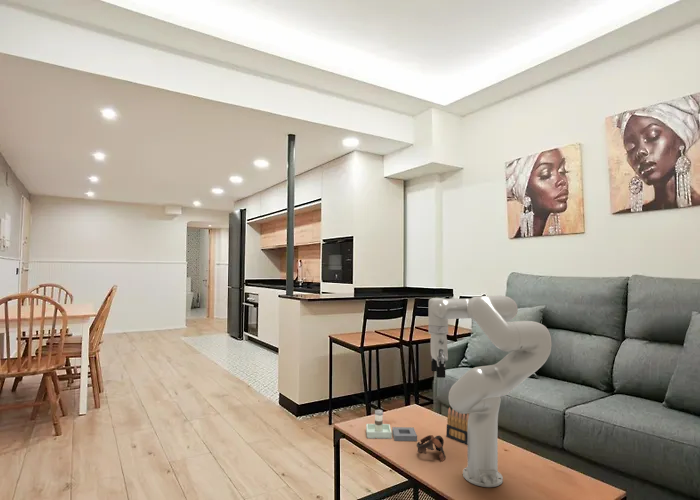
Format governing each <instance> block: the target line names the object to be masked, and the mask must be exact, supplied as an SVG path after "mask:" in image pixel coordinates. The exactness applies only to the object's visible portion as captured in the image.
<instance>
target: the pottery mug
mask: <svg viewBox="0 0 700 500" xmlns="http://www.w3.org/2000/svg"><path fill="white" fill-rule="evenodd" d="M444 443H445V442H444V438H443V436H442V435H436V436H435V437H434V435H431V434H430V435H427V436H424V437H423V438H421V439H420V441H417V443H416V447H417V452H418V454H419V453H420V454H422V453H423V454H425V455H426V454H427V453H426V452H427V450H430V451H435V450H436V451H437V452H440V454H439V456H438V458H439V459H440V462H443V461H444V460H445V459H446V454H445V451H444V448H443V447H444ZM434 447H435V448H434Z"/></svg>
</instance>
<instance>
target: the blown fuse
mask: <svg viewBox="0 0 700 500" xmlns="http://www.w3.org/2000/svg"><path fill="white" fill-rule="evenodd" d="M383 413H384V411H383V410H382V409H375V410H374V424H375V432H383V424H384V422H383V421H384V420H383V418H384V414H383Z"/></svg>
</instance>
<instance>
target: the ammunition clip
mask: <svg viewBox="0 0 700 500" xmlns="http://www.w3.org/2000/svg"><path fill="white" fill-rule="evenodd" d="M447 411H448V412H447V417H446V418H447V424H446V435H445V437H446V438H449V439H451V440H453V441H456V442H459V443H461V444H464V445H467V446H468V418H469V414H470V413H467V414H461V413H458V412H456V411H455V410H453V408H452V410H451V406H450V407H448V409H447Z"/></svg>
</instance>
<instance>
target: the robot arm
mask: <svg viewBox="0 0 700 500" xmlns="http://www.w3.org/2000/svg"><path fill="white" fill-rule="evenodd" d="M517 314H518V304H517V302H516V301H515V300H514V299H513V298H511V297H509V296H507V295H481V296H480V295H479V296H473V297H471V298H443V297H433V298H430V299H428V328H427V329H428V334H429V335H430V356H431V361H430V362H431V368H430V369H431V371H432V372H436V378H440V379H441V378H442V379H444V378H446V361H448V360H449V355H448V353H449V352H448V350H449V349H448V338H447V335H448V334H449V320H457V319H459V320H460V319H470V320H472V321H475V322H476V324H477V325H478V326H479V328H480V329H481V330H482V331H483V333H484V334H485V335H486V336H487V338H488V339H489V340H490V342H491V343H492V345H494V346H495V347H496V348H497V349H499V350H500V351H502V352H508V353H507V354H506V355H505V356H504V357H503V358H502V359H501V360H499V361H497V362H496V363H494V364H489V365H482V366H475V367H473V368H470V369H468V370H466V372H465V373H463V375H461V376H460V378H459V379H457V380H456V381H455V382H454V383H453V384H452V385H451V387H450V389H449V391H448V403H449V405H450V408H452V409H453V410H454V412H455V413H456V412H458V414H459V413H461V414H462V415H463V414H465V415H467V413H468V414H469V418H468V445H467V466H466V467H464V468H463V469H462V477H463V478H464V480H465V481H467V482H469V483H470V484H472V485H475V486H478V487H483V488H495V487H498V486H500V485H502V484H503V482H504V478H503V474H501V472H499V471H498V469H499V468H498V466H499V465H498V462H499V460H498V458H499V457H498V453H499V451H498V449H499V448H498V428H499V427H498V426H499V425H498V423H499V413H500V412H499V411H500V406H501V401H502V400H501V398H502V397H503V396H507V395H508V394H510V393H511V392H512V391H513V390H515V389H516V388H517V387H519V386H520V385H521V384H522V383H523V382H525V380H527V379H528V378H530V377H531V376H532V375H533V374H534V373H536V372H537V371H538V370H539V369H540V368H542V367H543V366H544V364H545V363H546V362H547V360H548V359H549V357H550V355H551V351H552V337H551V333H550V331H549V329H548V328H547V326H546V325H544V324H542V323H540V322H538V321H531V320H519V321H512V320H513V319H514V318H516V316H517Z"/></svg>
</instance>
